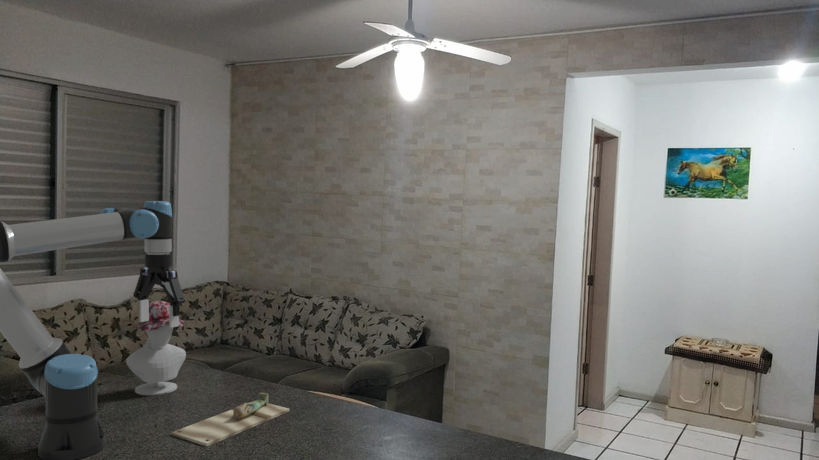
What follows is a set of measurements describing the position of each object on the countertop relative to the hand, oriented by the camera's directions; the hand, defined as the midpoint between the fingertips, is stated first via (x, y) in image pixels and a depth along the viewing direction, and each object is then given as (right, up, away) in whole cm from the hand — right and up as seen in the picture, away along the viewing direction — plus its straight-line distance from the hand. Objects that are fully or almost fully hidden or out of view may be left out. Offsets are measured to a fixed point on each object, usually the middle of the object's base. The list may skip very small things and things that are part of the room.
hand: (158, 324), depth 189 cm
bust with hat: (-8, -26, +22) cm, 34 cm away
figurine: (+27, -27, +1) cm, 38 cm away
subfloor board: (+24, -28, -6) cm, 37 cm away
